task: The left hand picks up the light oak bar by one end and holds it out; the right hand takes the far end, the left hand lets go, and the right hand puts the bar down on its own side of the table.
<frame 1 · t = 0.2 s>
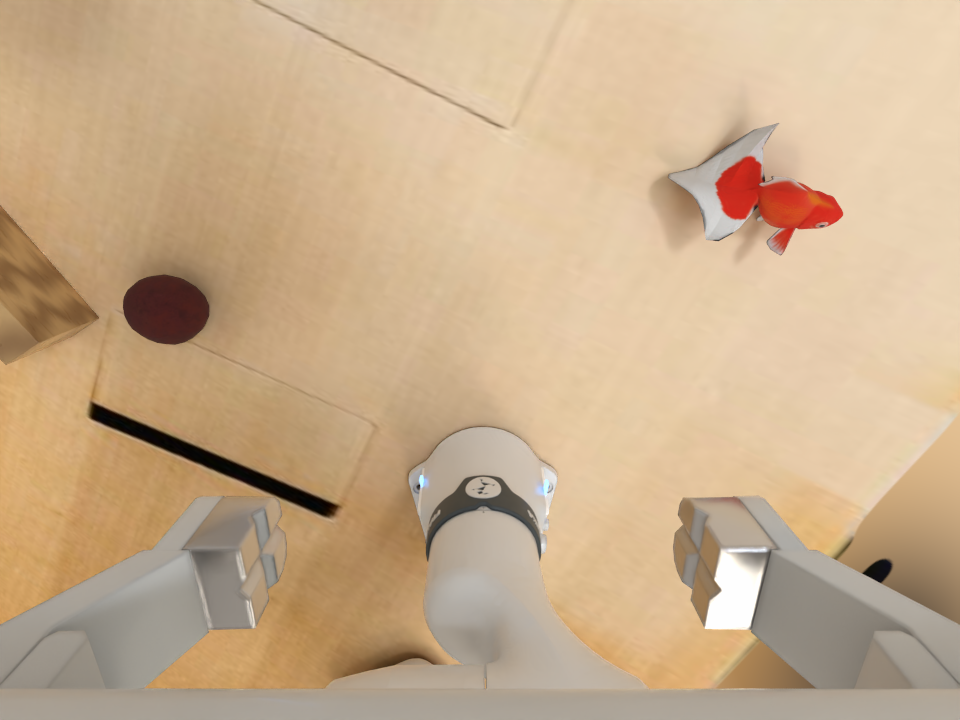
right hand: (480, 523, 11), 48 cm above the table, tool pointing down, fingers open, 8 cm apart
dark red ball: (186, 301, 58), on the table
fish: (731, 194, 54), on the table
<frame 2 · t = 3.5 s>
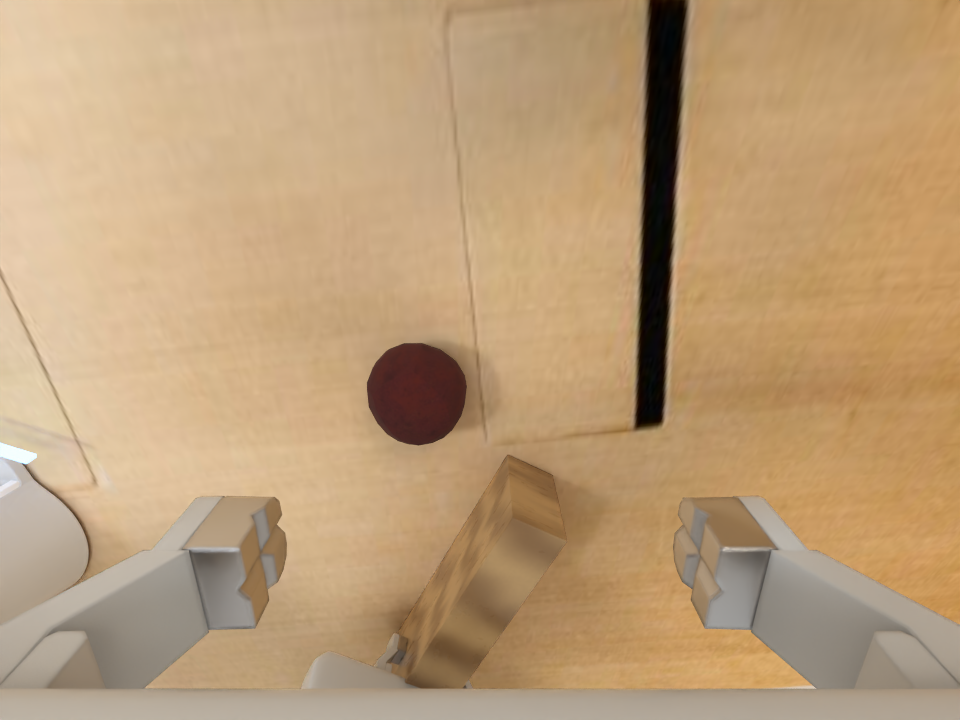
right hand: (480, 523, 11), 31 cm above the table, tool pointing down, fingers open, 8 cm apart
dark red ball: (422, 373, 43), on the table
bar: (466, 564, 50), on the table, touching left hand
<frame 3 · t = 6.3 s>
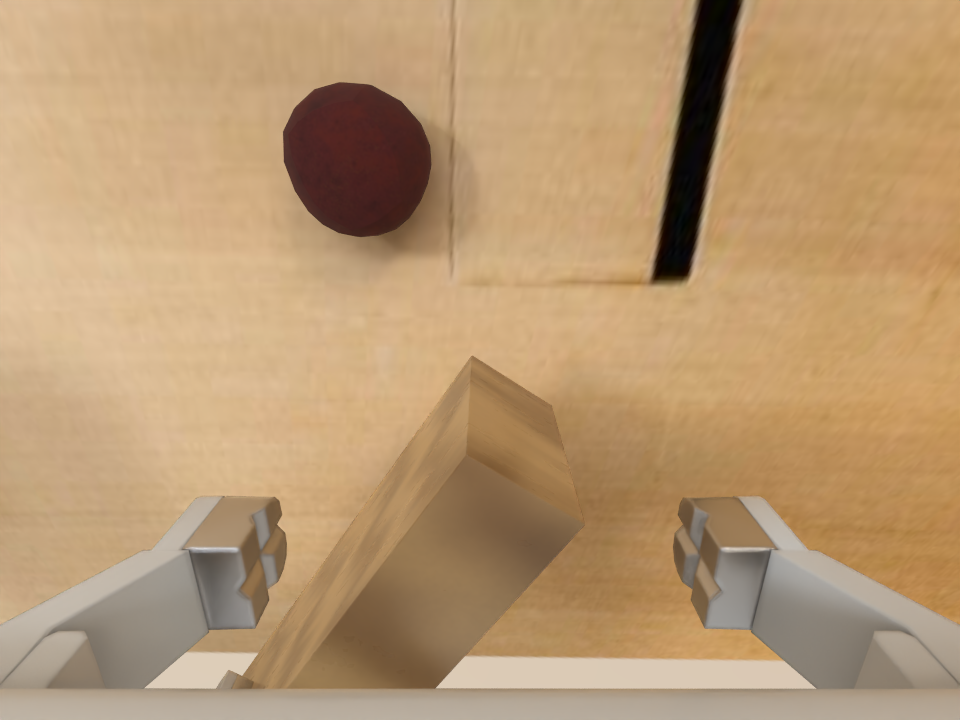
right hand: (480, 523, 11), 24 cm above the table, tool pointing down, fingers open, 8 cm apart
dark red ball: (373, 160, 31), on the table
bar: (378, 557, 28), point 11 cm above the table, touching left hand
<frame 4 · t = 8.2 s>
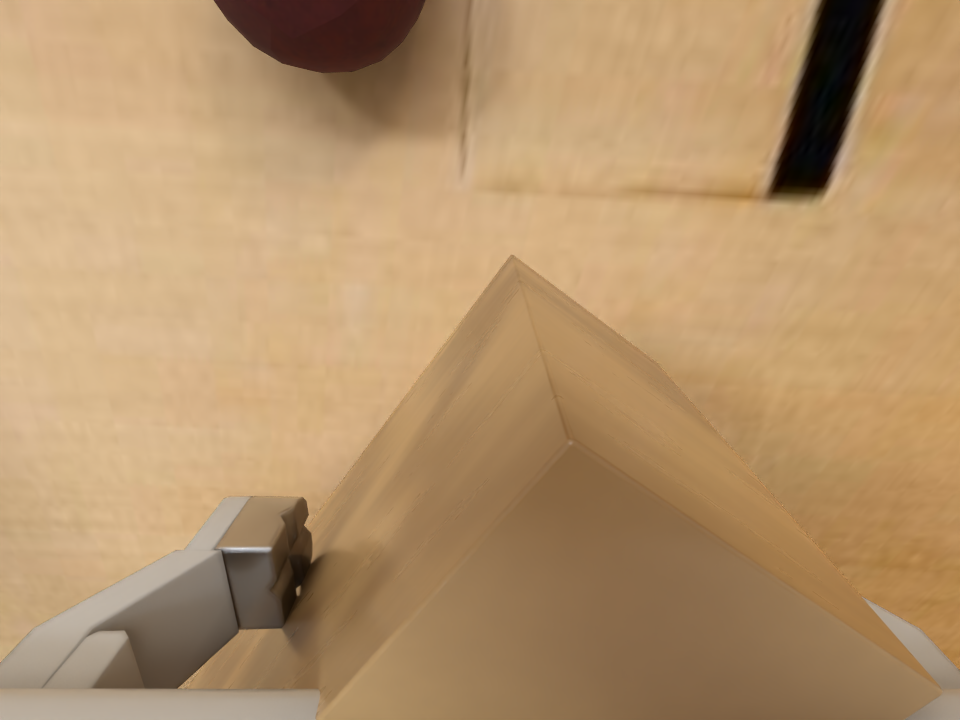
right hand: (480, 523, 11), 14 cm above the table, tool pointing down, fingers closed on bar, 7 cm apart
bar: (325, 624, 16), point 11 cm above the table, touching right hand, left hand
when the left hand's fingers open (14 cm above the table, at t = 9.4 s): bar stays where it is, held by the right hand.
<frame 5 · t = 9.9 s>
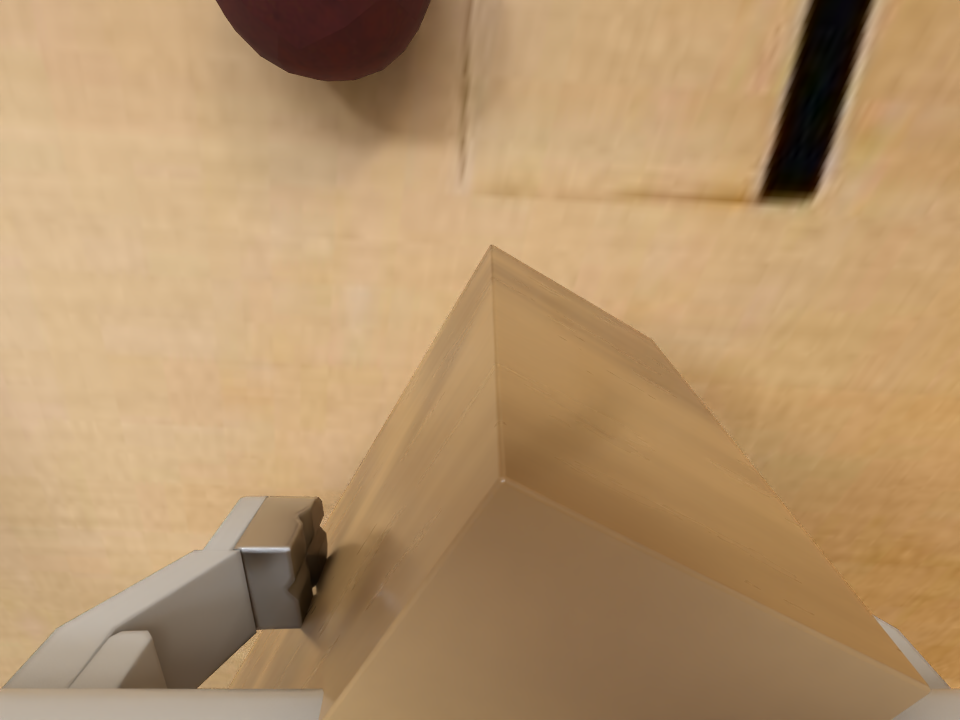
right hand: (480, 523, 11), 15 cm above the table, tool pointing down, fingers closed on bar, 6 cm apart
bar: (352, 618, 17), point 11 cm above the table, touching right hand, left hand
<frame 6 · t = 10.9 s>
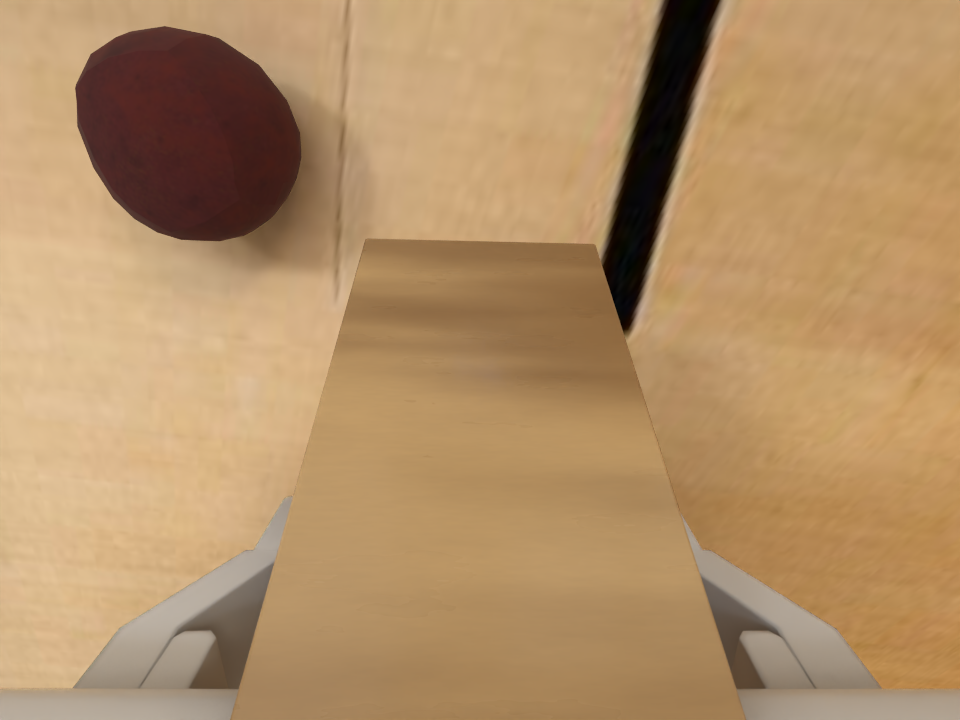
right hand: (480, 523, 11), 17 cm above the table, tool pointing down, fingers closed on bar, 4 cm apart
dark red ball: (239, 142, 24), on the table
bar: (469, 540, 19), point 10 cm above the table, tilted 23°, touching right hand
when the right hand's fingers open (4 cm above the table, at t = 13.7 s): bar stays where it is, on the table.
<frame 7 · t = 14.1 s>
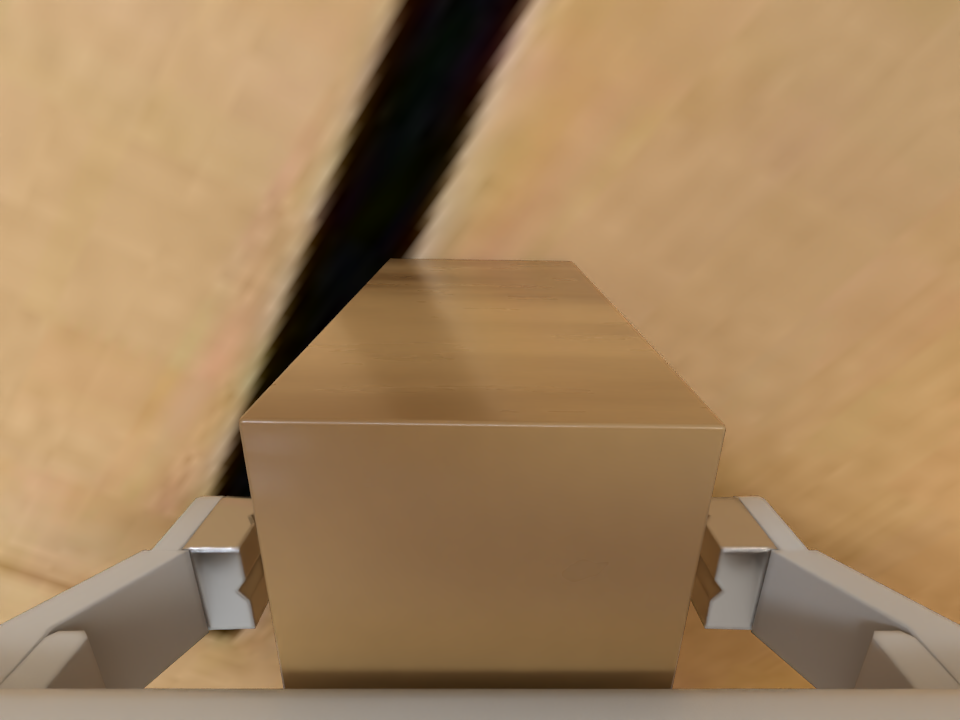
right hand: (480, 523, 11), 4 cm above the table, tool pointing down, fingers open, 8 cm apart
bar: (475, 633, 17), on the table
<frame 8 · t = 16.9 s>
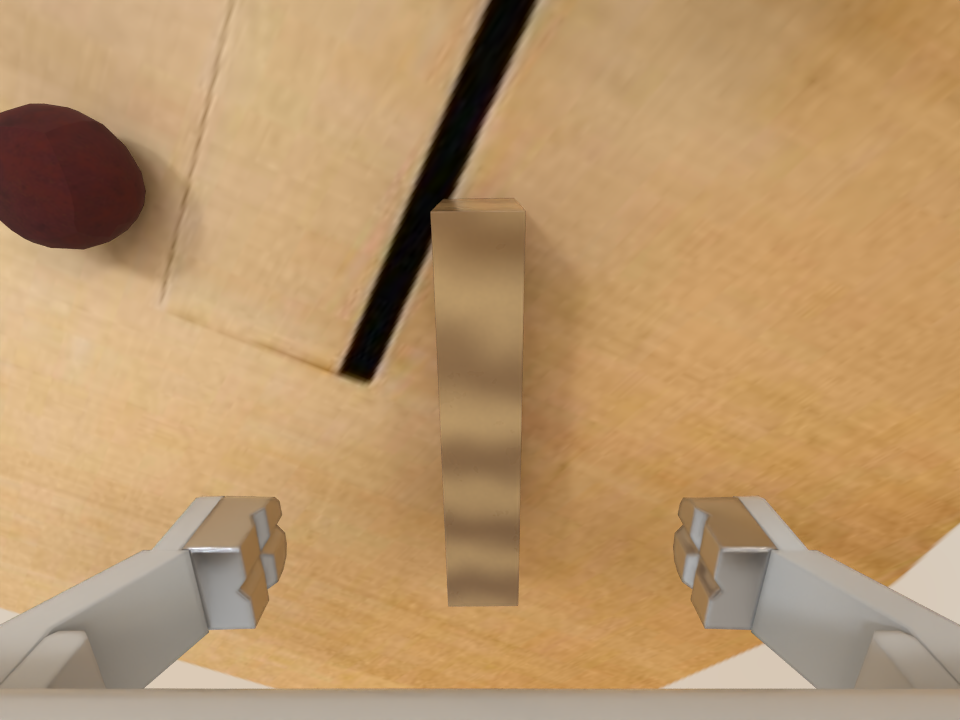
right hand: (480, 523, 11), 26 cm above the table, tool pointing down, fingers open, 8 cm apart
dark red ball: (109, 177, 33), on the table
bar: (480, 378, 38), on the table
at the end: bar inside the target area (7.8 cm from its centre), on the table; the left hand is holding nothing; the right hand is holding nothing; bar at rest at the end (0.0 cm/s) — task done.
